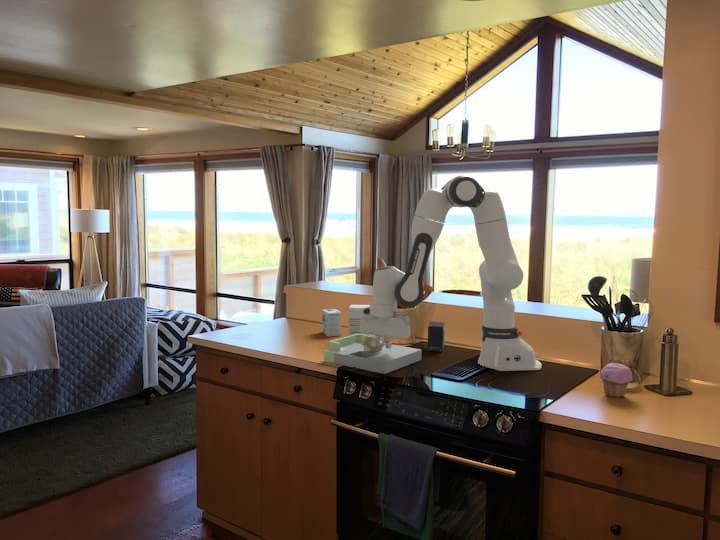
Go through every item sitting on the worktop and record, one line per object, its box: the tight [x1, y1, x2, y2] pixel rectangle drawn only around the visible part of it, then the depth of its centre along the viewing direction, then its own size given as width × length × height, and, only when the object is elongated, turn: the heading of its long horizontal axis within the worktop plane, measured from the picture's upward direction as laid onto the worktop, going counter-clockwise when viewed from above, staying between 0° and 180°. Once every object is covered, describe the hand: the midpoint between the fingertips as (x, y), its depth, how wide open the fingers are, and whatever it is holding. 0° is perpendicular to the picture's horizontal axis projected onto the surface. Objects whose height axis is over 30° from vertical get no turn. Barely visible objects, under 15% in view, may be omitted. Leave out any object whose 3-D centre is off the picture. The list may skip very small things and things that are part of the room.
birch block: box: [363, 334, 383, 352], centre depth 214 cm, size 5×5×5 cm
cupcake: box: [599, 362, 633, 398], centre depth 174 cm, size 9×9×10 cm
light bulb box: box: [321, 308, 343, 337], centre depth 263 cm, size 11×7×11 cm, turn 17°
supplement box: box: [348, 304, 371, 336], centre depth 250 cm, size 9×9×15 cm
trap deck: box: [323, 334, 422, 375], centre depth 215 cm, size 28×24×7 cm
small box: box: [426, 320, 446, 353], centre depth 234 cm, size 11×6×10 cm, turn 168°
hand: (384, 347), depth 211 cm, fingers closed
